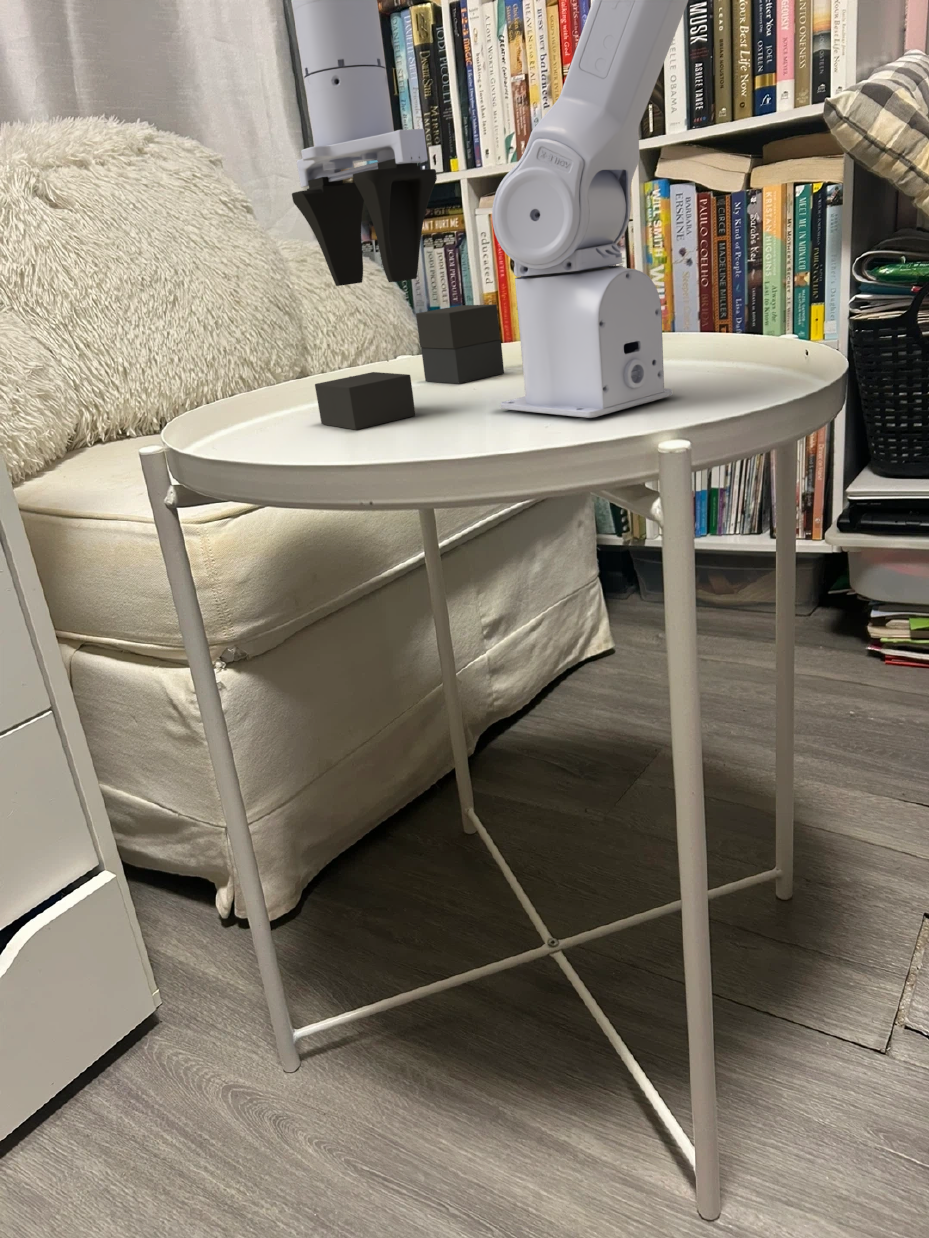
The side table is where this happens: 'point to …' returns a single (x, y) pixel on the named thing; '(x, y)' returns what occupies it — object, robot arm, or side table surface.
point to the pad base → (463, 362)
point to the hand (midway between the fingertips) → (374, 282)
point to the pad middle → (458, 326)
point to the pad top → (365, 400)
